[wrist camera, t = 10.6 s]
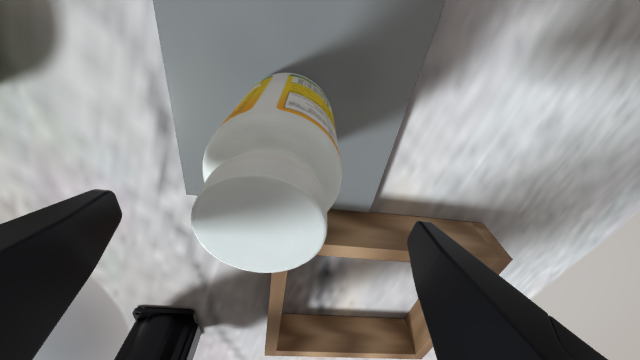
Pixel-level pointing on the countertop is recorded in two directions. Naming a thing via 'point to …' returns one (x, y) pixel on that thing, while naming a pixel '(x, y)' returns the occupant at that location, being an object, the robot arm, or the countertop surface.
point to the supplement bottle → (270, 178)
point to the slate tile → (297, 71)
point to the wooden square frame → (365, 332)
